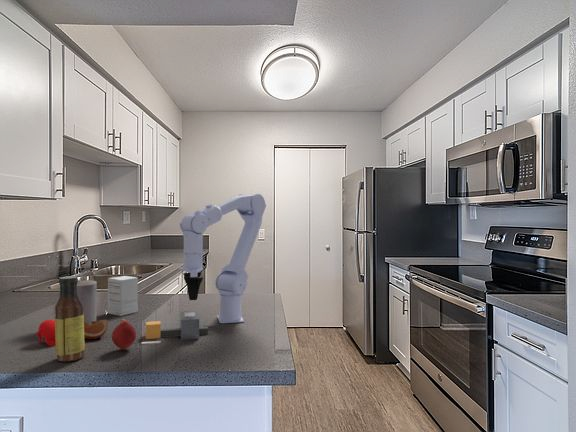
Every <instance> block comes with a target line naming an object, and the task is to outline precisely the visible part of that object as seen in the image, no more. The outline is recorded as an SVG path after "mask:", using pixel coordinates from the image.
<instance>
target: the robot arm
mask: <svg viewBox="0 0 576 432" xmlns="http://www.w3.org/2000/svg"><path fill="white" fill-rule="evenodd" d="M266 208H267V204H266V201H265V198H264V196H263V195H262V194H261V193H256V194H244V193H243V194H240V193H239V194H238V195H235V196H233V197H231V198H230V199H228V200H226V201H225V202H223V203H221V204H218V205H215V204H207V205H205V208H203V209H201V210H199V209H197V210H195V211H194V213H193V214H187V215H184V216H182V217H183V218H182V219H181V221H180V222H179V228H180V230H181V231H182V237H183V265H182V267H179V271H183V273H182V275H183V279H184V281H185V284H186V287H187V288H186V289H187V295H188V298H189V299H188V300H189V301H197V300H198V298H199V297H198V296H199V291H200V287H201V284H202V282H203V279H204V276H202V271H204V267H203V258H204V257H203V256H204V255H203V253H204V252H203V249H204V248H203V246H204V242H203V240H204V238H203V237H204V235H203V234H204V233H205V232H206V230H207V228H209V227H210V226H212V225H214V224H216V223H219V222H220V221H221V220H222V218H223V216H224V215H227V214H229V213H231V212H234V211H235V210H236V211H237V213H238V214H239V216H240V218H241V219H242V220H243V221H244V225H243V228H242V230H241V233H240V235H239V238H238V240H237V243H236V246H235V248H234V251H233V253H232V256H231V258H230V261H229V263H228V264H226V265H225V266H224V267H222V268H221V271H220V273H219V274H218V275H217V276H216V278H215V283H214V284H215V288H216V289H217V290H218V294H219V315H218V314H217V316H216V318H217V320H218V323H219V324H231V323H232V324H235V323H245V321H244V320H245V319H244V318H243V317H242V299H243V298H242V295H243V294H244V292H245V291H246V290H247V289H246V288H247V285H248V284H247V283H248V278H249V274H248V272H247V271H246V266H247V264H248V261H249V258H250V256H251V252H252V250H253V247H254V244H255V243H256V239H257V237H258V234H259V231H260V228H261V226H262V222H263V217H264V216H263V215H264V213H265V210H266Z"/></svg>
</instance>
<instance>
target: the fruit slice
mask: <svg viewBox="0 0 576 432" xmlns="http://www.w3.org/2000/svg"><path fill="white" fill-rule="evenodd" d="M108 325H109V322H108V319H99V320H96V321H92V322H91V323H84V339H87V340H96V339H99V338H101V337H103V336H104V334H105V333H106V332H107V331H108Z"/></svg>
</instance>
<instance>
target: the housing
mask: <svg viewBox="0 0 576 432" xmlns="http://www.w3.org/2000/svg"><path fill="white" fill-rule="evenodd" d="M199 316H200V315H199V313H198V310H187V311H184V310H183V311H182V310H181V311H180V322H179V323H180V326H179V327H180V328H181V336H180V340H181V341H186V340H189V341H190V340H199V339H200V335H199V327H200V317H199Z"/></svg>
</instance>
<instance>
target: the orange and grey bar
mask: <svg viewBox="0 0 576 432" xmlns="http://www.w3.org/2000/svg"><path fill="white" fill-rule="evenodd" d="M203 334H204V335H209V327H208V326H199V336H202V335H203ZM204 335H203V336H204ZM167 336H168V337H169V336H171V337H181V328H162V320H157V321H156V320H154V321H146V323H145V340H148V339H149V340H150V339H161V338H167Z"/></svg>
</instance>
